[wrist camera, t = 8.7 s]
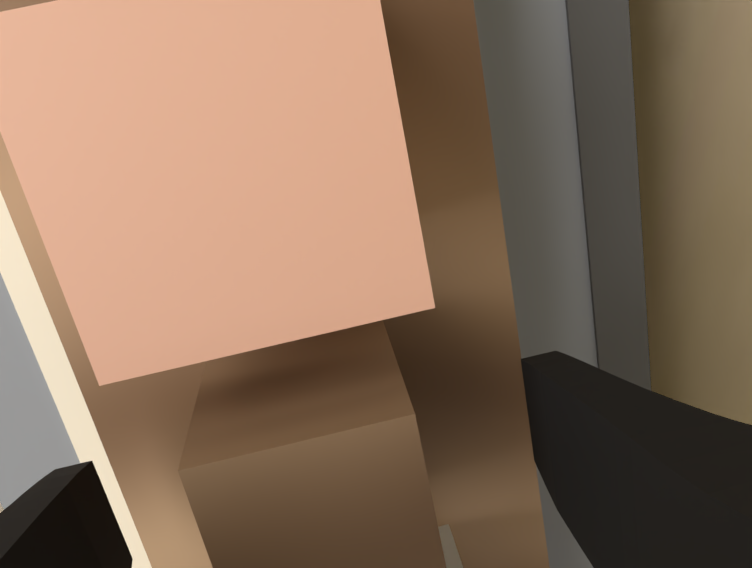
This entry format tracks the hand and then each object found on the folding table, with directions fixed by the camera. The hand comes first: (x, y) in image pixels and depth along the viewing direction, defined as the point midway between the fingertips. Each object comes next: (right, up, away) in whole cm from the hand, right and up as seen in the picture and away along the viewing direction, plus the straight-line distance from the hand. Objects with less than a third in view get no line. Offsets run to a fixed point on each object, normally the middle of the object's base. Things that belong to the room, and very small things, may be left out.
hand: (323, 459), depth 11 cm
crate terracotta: (-1, +5, 0) cm, 5 cm away
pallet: (0, +1, +4) cm, 4 cm away
